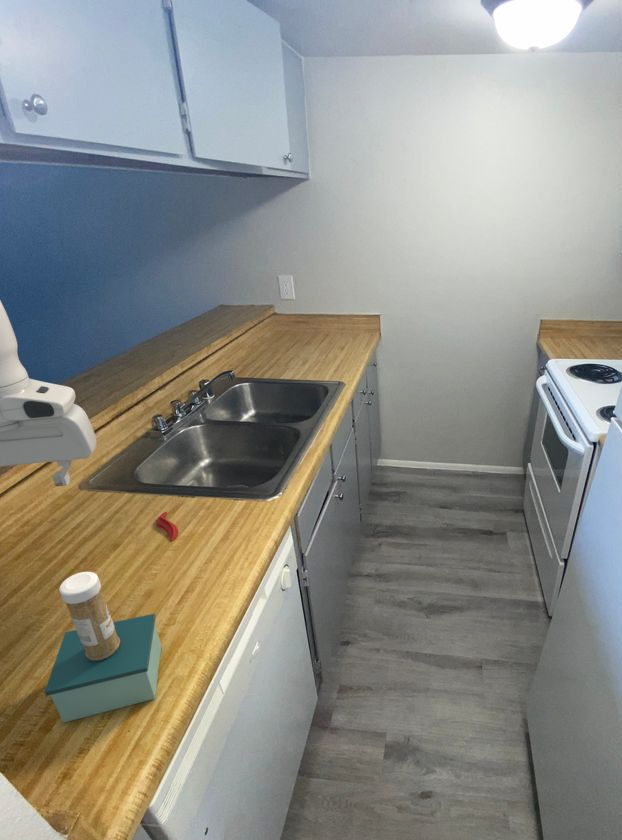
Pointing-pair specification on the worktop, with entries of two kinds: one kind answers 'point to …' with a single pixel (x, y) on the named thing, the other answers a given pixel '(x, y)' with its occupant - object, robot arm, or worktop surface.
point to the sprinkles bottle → (90, 615)
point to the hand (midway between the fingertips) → (26, 488)
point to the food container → (106, 671)
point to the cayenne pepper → (167, 526)
